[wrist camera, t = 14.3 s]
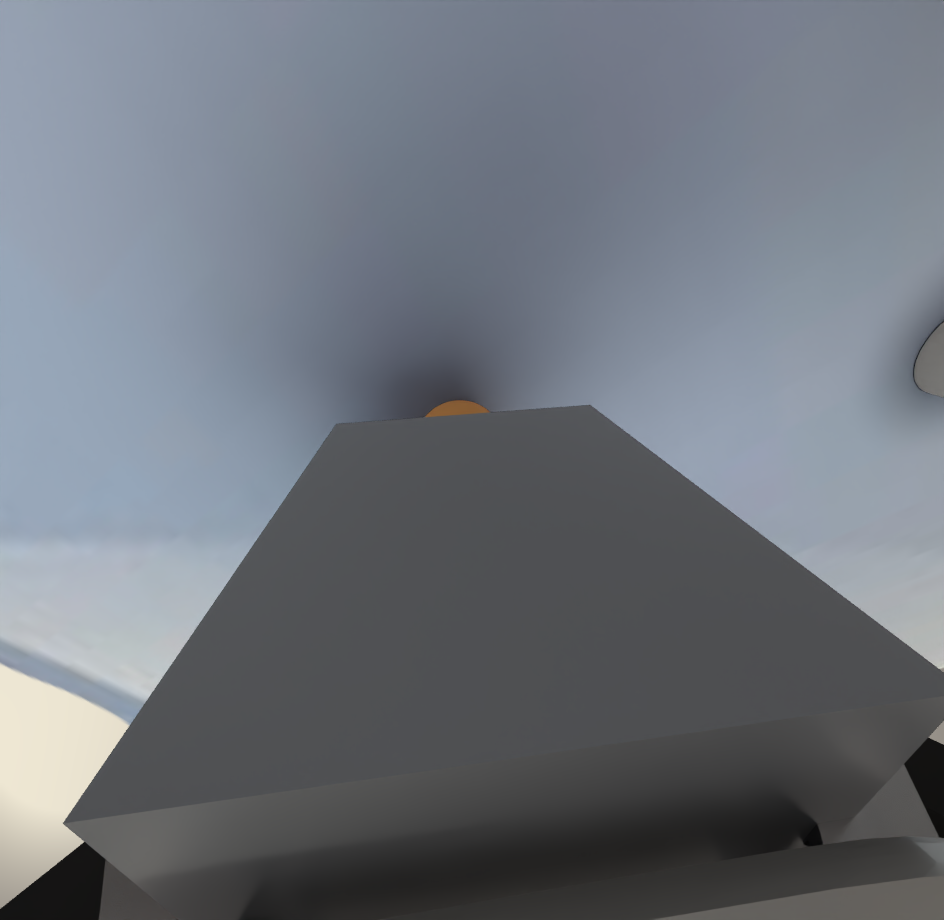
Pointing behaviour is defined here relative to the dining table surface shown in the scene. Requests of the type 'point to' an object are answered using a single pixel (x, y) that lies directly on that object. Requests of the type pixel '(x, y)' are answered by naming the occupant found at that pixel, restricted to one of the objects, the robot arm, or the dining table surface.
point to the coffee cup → (931, 364)
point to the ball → (457, 408)
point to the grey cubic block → (497, 686)
